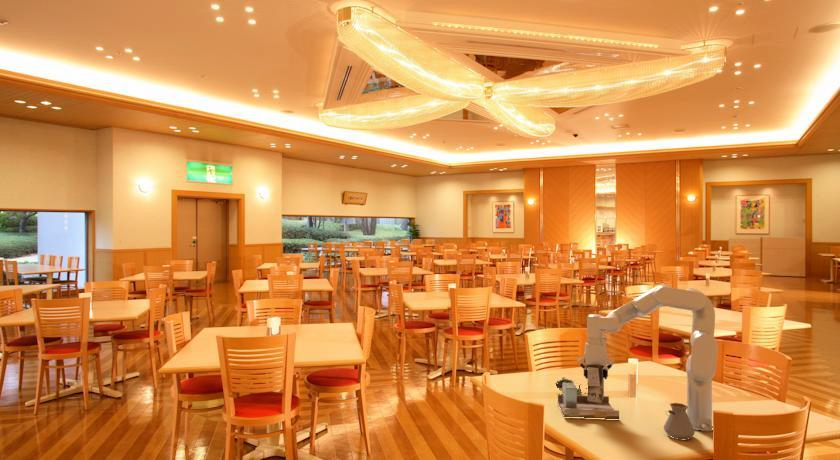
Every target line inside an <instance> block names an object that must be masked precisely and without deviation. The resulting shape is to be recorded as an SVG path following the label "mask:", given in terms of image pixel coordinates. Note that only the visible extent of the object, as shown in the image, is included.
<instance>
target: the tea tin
mask: <svg viewBox="0 0 840 460" xmlns="http://www.w3.org/2000/svg"><path fill="white" fill-rule="evenodd" d="M574 383H575V382H574ZM574 383H562V384H563V406H564V408H574V409H577V388H576V386H575V385H574Z"/></svg>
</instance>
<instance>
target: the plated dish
mask: <svg viewBox="0 0 840 460" xmlns="http://www.w3.org/2000/svg"><path fill="white" fill-rule="evenodd" d="M573 382H574V383H576V382H575V380H574V381H573V380H572V379H568V378H566V377H564V376H563V377H562V378H561V379H559V380H556V382H555V384H556V386H557V388H559V390H560V391H562V393H563V384H562V383H573ZM557 383H558V384H557ZM580 385H581V384H580ZM580 385H579V388H578V389H577V395H583V394H581V393H582V392H581V389H580ZM586 389H587V388H586Z"/></svg>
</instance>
